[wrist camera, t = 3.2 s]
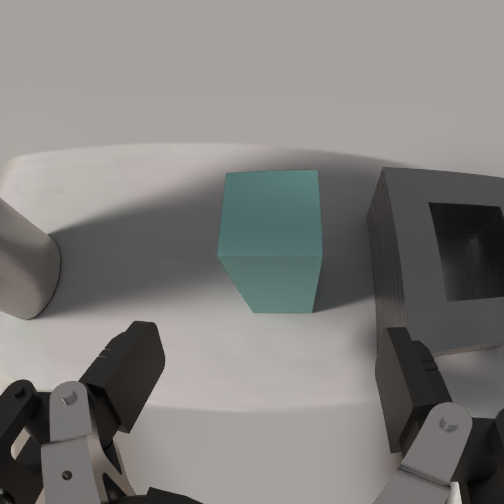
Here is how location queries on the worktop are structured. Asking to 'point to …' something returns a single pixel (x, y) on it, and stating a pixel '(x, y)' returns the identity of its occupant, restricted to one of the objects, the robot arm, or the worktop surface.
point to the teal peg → (272, 238)
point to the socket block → (439, 258)
